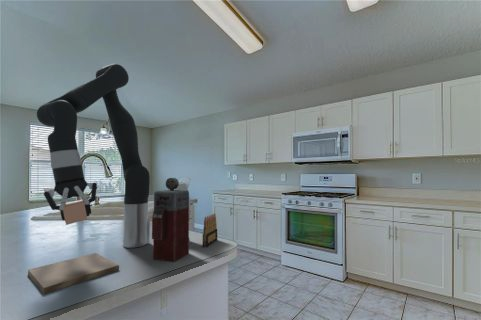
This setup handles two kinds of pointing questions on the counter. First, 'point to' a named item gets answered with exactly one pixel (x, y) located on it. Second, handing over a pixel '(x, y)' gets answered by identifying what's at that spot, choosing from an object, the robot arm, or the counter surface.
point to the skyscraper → (184, 186)
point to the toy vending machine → (170, 223)
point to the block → (74, 212)
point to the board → (71, 272)
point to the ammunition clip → (209, 230)
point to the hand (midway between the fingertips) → (77, 218)
